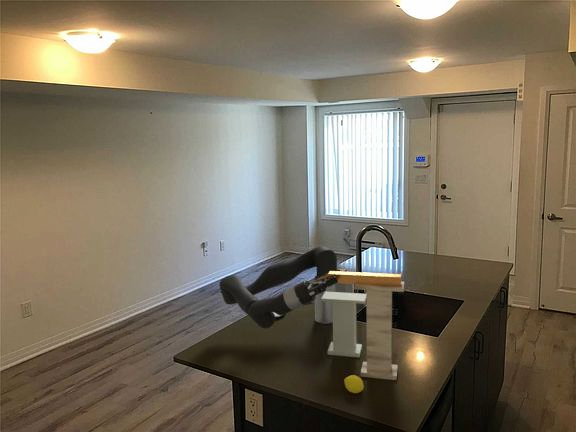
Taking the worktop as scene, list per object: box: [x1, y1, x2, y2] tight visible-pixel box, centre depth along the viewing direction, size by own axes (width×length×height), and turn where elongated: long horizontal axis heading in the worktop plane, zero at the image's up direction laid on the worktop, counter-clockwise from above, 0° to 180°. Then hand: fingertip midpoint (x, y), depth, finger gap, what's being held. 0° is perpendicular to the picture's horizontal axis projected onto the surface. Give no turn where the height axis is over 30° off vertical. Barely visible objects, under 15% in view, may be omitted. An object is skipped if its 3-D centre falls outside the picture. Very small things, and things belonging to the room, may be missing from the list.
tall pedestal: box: [353, 280, 405, 381], centre depth 163 cm, size 8×16×32 cm, turn 75°
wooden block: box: [328, 271, 402, 286], centre depth 161 cm, size 3×24×3 cm, turn 75°
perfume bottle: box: [335, 268, 353, 293], centre depth 229 cm, size 7×7×18 cm
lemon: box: [343, 374, 364, 394], centre depth 153 cm, size 7×5×5 cm
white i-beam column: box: [321, 292, 367, 358], centre depth 180 cm, size 8×16×22 cm, turn 75°
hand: (338, 275), depth 163 cm, fingers open, 8 cm apart
